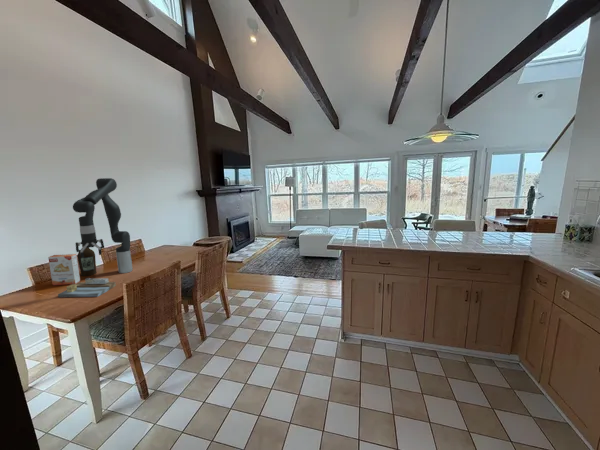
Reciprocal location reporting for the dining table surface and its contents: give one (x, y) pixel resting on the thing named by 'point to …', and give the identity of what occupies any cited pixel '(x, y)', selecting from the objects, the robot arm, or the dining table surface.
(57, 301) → the dining table surface
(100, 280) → the lock bar
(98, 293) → the latched flap box
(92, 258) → the olive oil
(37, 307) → the dining table surface
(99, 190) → the robot arm
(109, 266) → the dining table surface
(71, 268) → the cracker box
